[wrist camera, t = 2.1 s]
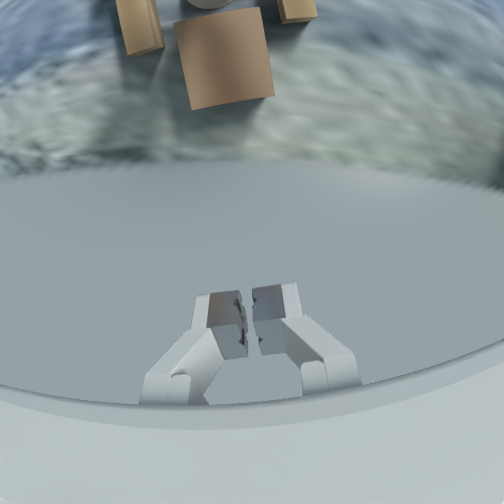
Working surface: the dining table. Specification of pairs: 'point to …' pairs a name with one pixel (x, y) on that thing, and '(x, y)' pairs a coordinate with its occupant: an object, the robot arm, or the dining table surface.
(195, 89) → the walnut block
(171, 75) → the dining table surface
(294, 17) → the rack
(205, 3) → the chalice
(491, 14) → the dining table surface
